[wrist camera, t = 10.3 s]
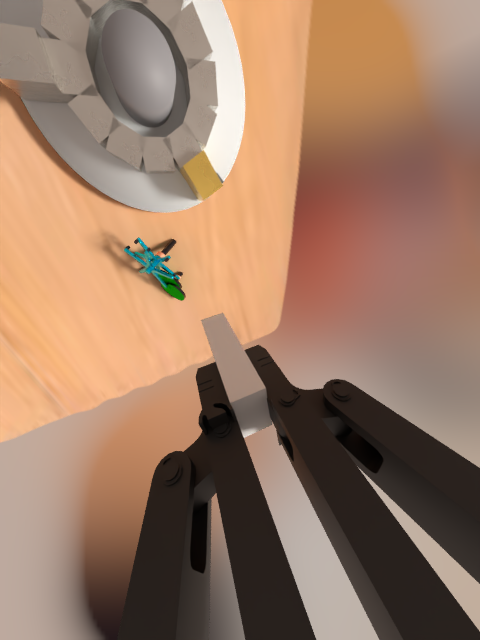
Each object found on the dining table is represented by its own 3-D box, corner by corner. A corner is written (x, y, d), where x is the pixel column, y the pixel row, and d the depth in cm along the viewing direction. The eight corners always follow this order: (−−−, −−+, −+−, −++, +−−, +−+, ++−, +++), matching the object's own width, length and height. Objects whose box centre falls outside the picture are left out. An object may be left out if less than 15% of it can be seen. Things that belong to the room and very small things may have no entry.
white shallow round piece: (-45, 76, 19) (-132, 24, 14) (86, -225, 15) (43, -483, 9) (172, 246, 33) (175, 256, 27) (274, 111, 28) (303, 88, 23)
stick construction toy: (110, 247, 28) (144, 251, 24) (141, 217, 31) (177, 216, 27) (162, 301, 37) (193, 309, 34) (183, 273, 40) (213, 278, 36)
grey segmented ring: (148, 239, 29) (146, 245, 26) (-12, 57, 18) (-55, 22, 15) (266, 147, 29) (282, 139, 25) (173, -99, 18) (177, -178, 14)
